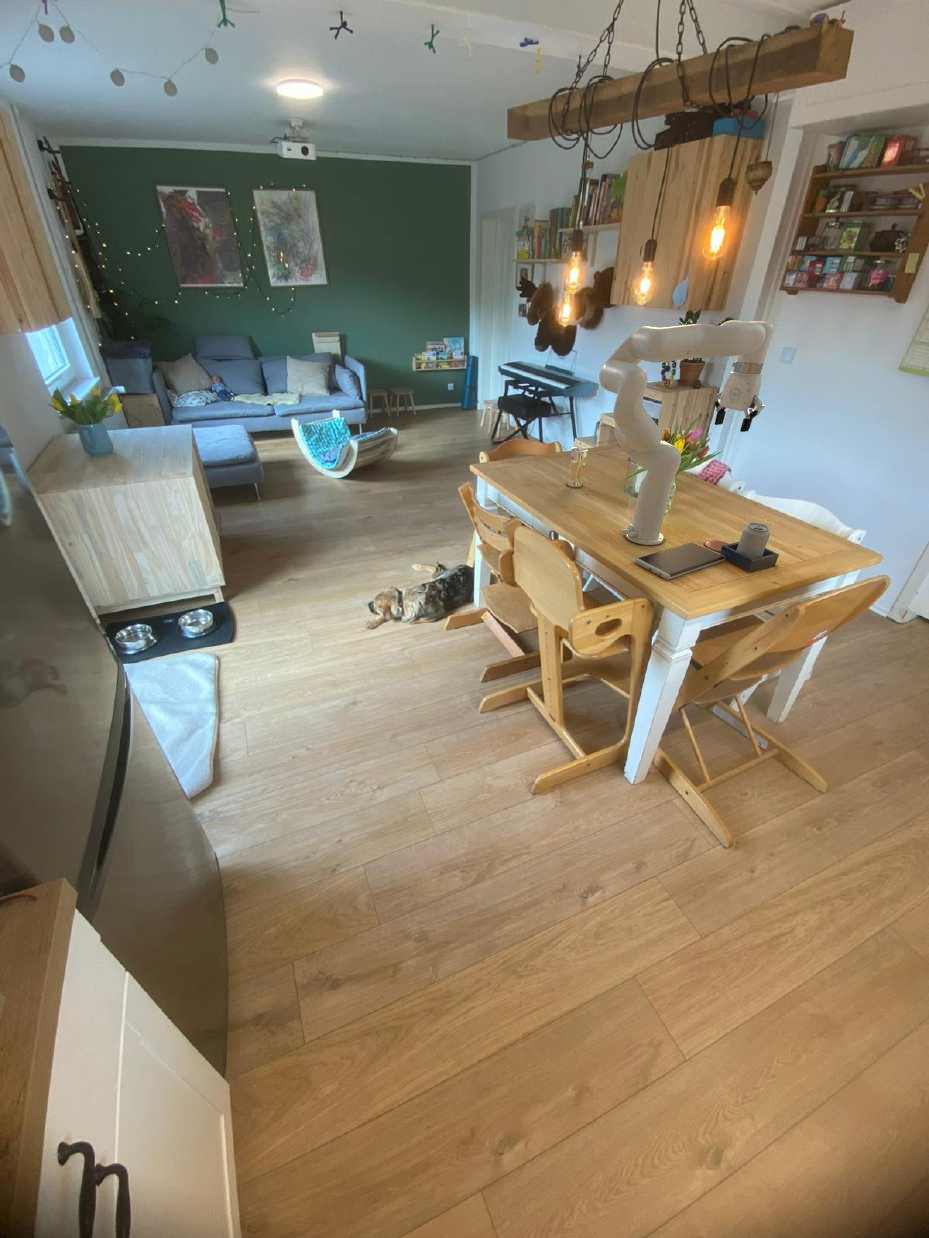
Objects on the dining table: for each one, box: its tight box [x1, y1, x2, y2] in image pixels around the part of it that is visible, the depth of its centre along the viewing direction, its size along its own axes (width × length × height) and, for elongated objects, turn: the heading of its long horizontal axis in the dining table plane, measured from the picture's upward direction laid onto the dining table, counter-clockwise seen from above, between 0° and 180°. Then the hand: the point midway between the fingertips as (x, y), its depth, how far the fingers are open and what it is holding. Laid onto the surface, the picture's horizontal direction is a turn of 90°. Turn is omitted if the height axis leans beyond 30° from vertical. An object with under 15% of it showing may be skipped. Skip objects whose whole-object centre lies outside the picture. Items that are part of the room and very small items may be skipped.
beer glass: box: [567, 446, 589, 488], centre depth 220 cm, size 7×7×15 cm
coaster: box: [704, 540, 729, 553], centre depth 175 cm, size 9×9×1 cm
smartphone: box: [634, 541, 726, 580], centre depth 165 cm, size 13×27×2 cm, turn 121°
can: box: [736, 522, 771, 559], centre depth 164 cm, size 8×8×12 cm
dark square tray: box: [719, 541, 780, 573], centre depth 166 cm, size 12×12×4 cm
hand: (730, 427), depth 168 cm, fingers open, 9 cm apart
